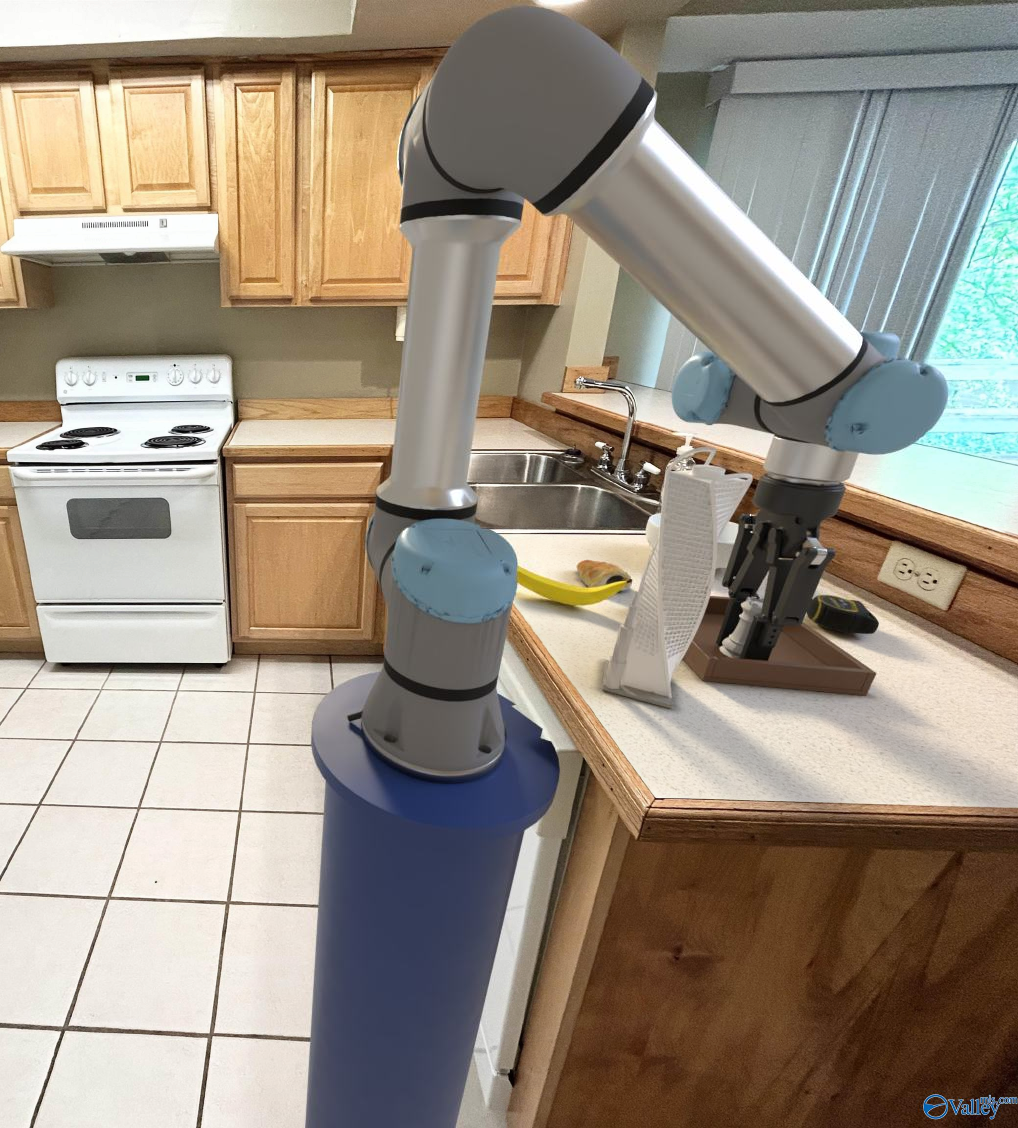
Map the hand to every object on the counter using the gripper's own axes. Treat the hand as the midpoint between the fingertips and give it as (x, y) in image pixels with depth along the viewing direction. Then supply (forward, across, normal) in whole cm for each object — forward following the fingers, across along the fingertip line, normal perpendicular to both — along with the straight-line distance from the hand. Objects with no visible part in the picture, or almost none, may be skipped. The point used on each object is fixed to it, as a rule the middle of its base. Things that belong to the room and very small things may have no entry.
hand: (739, 655), depth 76 cm
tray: (+1, +4, -2) cm, 5 cm away
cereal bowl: (+1, +36, -11) cm, 38 cm away
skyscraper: (+1, -8, +14) cm, 16 cm away
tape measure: (+1, +13, -20) cm, 24 cm away
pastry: (+1, +23, +9) cm, 25 cm away
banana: (+1, +15, +18) cm, 24 cm away
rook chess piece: (0, 0, 0) cm, 0 cm away
